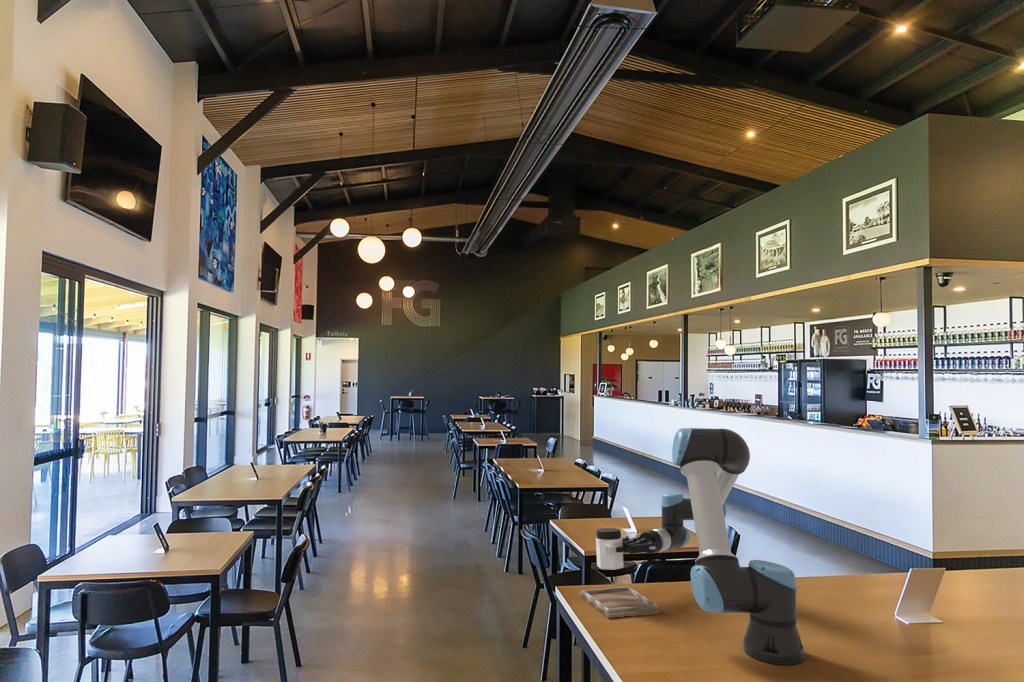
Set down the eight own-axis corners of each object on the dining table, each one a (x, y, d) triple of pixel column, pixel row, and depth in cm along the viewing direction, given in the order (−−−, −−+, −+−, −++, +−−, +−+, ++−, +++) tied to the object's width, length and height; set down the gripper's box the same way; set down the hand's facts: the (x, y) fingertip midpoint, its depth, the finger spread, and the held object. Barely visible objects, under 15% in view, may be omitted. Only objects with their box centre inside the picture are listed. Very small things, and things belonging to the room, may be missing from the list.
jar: (609, 571, 199) (607, 532, 201) (592, 567, 206) (590, 530, 207) (628, 566, 205) (626, 529, 207) (610, 563, 211) (608, 527, 213)
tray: (660, 613, 194) (660, 606, 194) (608, 618, 189) (608, 611, 189) (626, 591, 215) (626, 585, 215) (579, 595, 209) (579, 589, 210)
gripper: (670, 556, 208) (622, 567, 194) (639, 547, 219) (591, 557, 205) (670, 533, 209) (622, 542, 195) (639, 526, 220) (592, 534, 206)
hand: (606, 550), depth 200 cm, fingers closed on jar
